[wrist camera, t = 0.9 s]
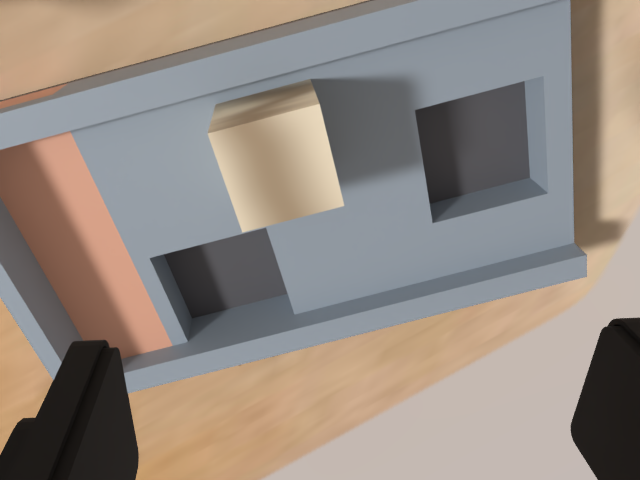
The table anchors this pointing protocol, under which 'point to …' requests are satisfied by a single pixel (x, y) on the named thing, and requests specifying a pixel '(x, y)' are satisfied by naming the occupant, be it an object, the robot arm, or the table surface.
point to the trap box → (305, 232)
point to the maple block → (275, 155)
